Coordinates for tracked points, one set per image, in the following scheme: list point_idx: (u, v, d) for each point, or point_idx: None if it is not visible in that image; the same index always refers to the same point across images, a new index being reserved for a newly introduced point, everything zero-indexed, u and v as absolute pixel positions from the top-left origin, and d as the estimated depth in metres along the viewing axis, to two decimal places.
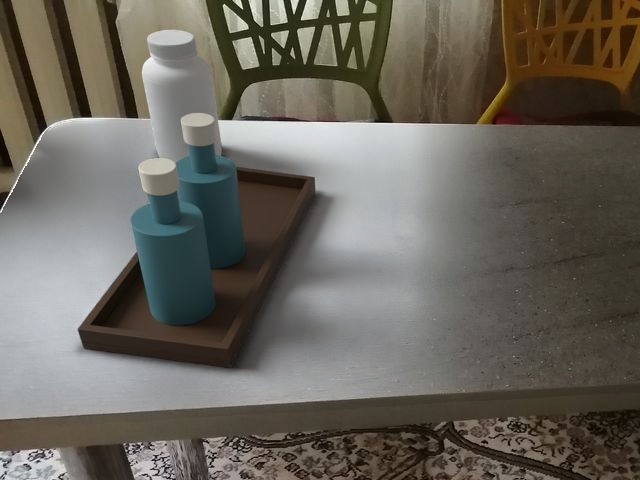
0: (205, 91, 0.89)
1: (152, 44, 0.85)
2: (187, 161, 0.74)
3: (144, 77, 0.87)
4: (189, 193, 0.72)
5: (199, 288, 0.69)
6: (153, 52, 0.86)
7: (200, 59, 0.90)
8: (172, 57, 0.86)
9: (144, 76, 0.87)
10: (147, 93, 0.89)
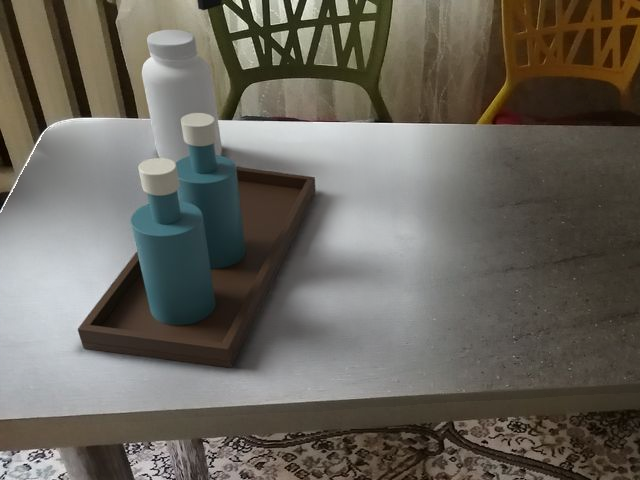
0: (205, 91, 0.89)
1: (152, 44, 0.85)
2: (187, 161, 0.74)
3: (144, 77, 0.87)
4: (189, 193, 0.72)
5: (199, 288, 0.69)
6: (153, 52, 0.86)
7: (200, 59, 0.90)
8: (172, 57, 0.86)
9: (144, 76, 0.87)
10: (147, 93, 0.89)
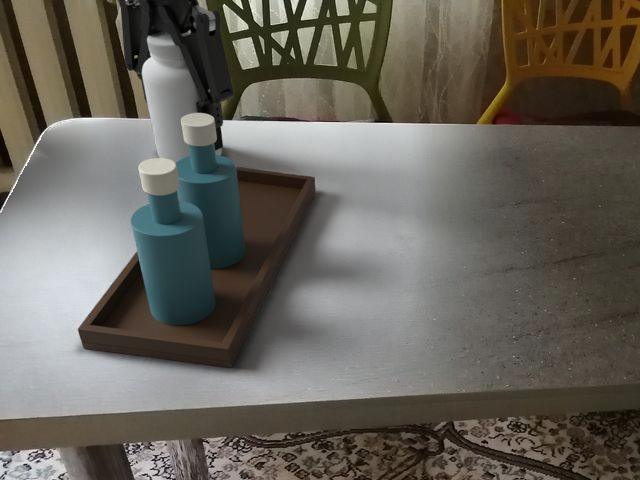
0: None
1: (152, 44, 0.85)
2: (187, 161, 0.74)
3: (144, 77, 0.87)
4: (189, 193, 0.72)
5: (199, 288, 0.69)
6: (153, 52, 0.86)
7: None
8: (172, 57, 0.86)
9: (144, 76, 0.87)
10: (147, 93, 0.89)
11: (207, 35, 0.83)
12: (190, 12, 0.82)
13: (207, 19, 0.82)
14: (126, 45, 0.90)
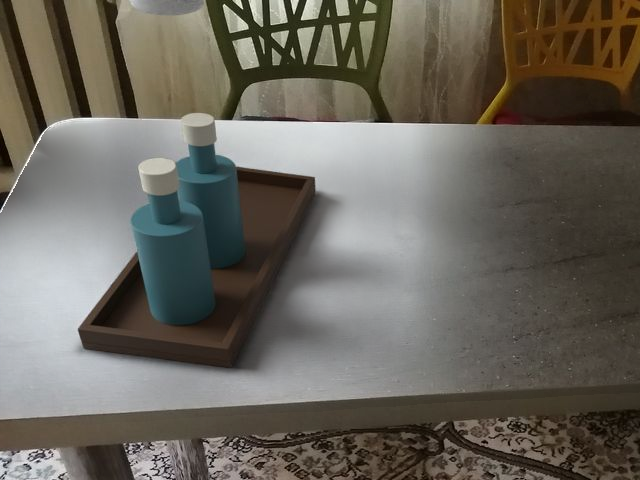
0: None
1: None
2: (187, 161, 0.74)
3: None
4: (189, 193, 0.72)
5: (199, 288, 0.69)
6: None
7: None
8: None
9: None
10: None
11: None
12: None
13: None
14: None
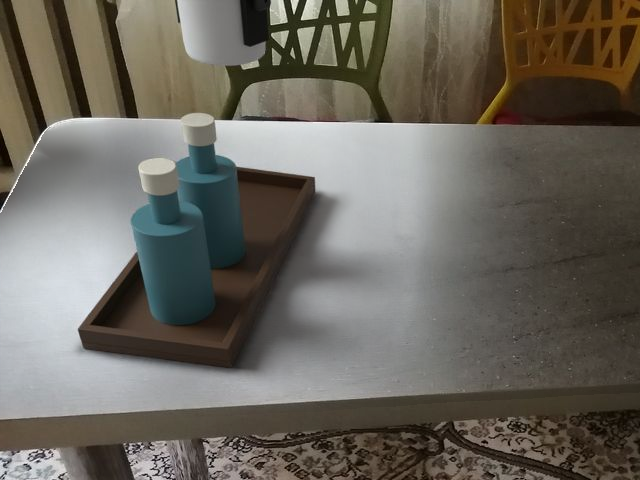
0: None
1: None
2: (187, 161, 0.74)
3: None
4: (189, 193, 0.72)
5: (199, 288, 0.69)
6: None
7: None
8: None
9: None
10: None
11: None
12: None
13: None
14: None
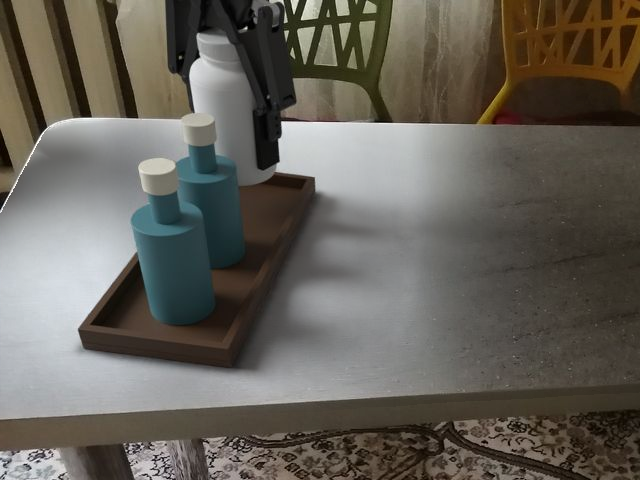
0: None
1: (203, 42, 0.72)
2: (187, 161, 0.74)
3: (193, 81, 0.75)
4: (189, 193, 0.72)
5: (199, 288, 0.69)
6: (204, 52, 0.73)
7: None
8: (226, 58, 0.73)
9: (193, 80, 0.75)
10: (195, 100, 0.76)
11: (270, 32, 0.70)
12: (250, 4, 0.70)
13: (271, 13, 0.69)
14: (170, 44, 0.77)
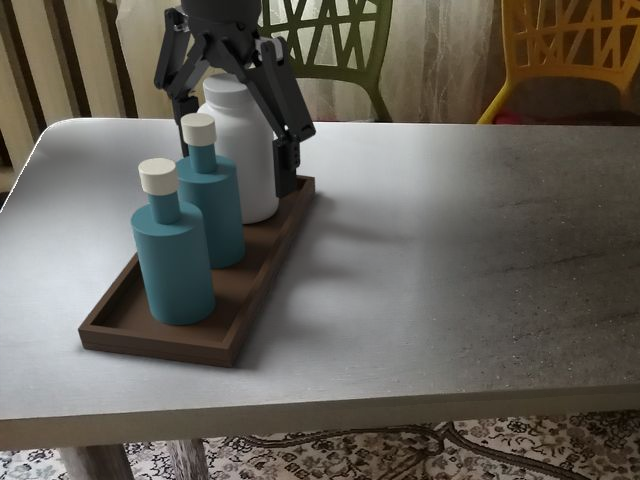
0: (266, 141, 0.80)
1: (209, 90, 0.76)
2: (187, 161, 0.74)
3: None
4: (189, 193, 0.72)
5: (199, 288, 0.69)
6: (210, 99, 0.76)
7: None
8: (231, 105, 0.76)
9: None
10: None
11: (275, 65, 0.72)
12: (253, 45, 0.72)
13: (272, 46, 0.71)
14: (161, 65, 0.79)
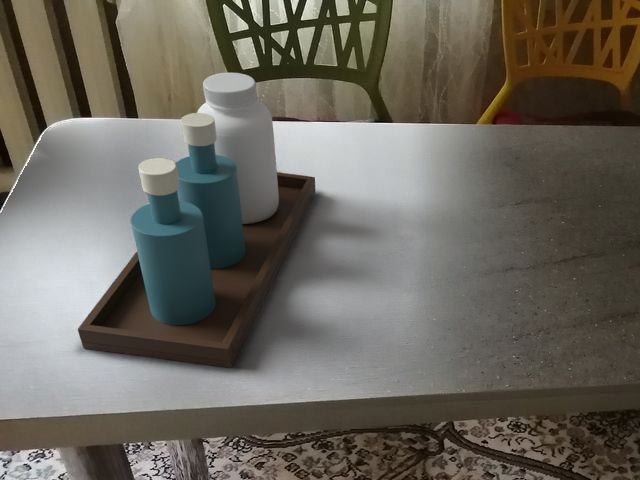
0: (266, 141, 0.80)
1: (209, 91, 0.76)
2: (187, 161, 0.74)
3: None
4: (189, 193, 0.72)
5: (199, 288, 0.69)
6: (210, 99, 0.76)
7: (260, 105, 0.80)
8: (231, 105, 0.76)
9: None
10: None
11: None
12: None
13: None
14: None
